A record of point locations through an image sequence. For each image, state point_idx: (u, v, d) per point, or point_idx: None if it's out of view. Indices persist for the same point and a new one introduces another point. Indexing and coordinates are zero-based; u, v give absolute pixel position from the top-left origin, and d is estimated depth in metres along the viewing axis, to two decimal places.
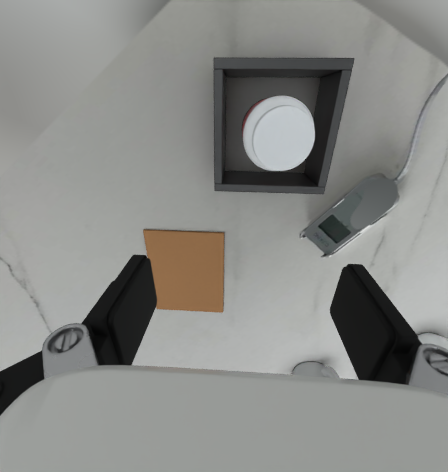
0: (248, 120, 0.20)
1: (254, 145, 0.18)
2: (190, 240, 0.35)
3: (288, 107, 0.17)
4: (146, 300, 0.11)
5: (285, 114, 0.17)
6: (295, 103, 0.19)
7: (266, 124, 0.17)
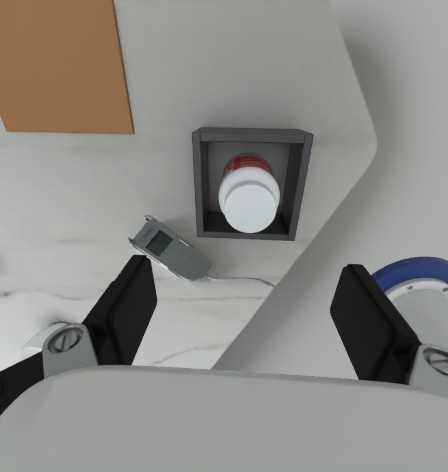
0: (263, 172, 0.22)
1: (246, 186, 0.20)
2: (112, 84, 0.26)
3: (275, 211, 0.21)
4: (146, 300, 0.11)
5: (270, 209, 0.21)
6: None
7: (263, 195, 0.20)
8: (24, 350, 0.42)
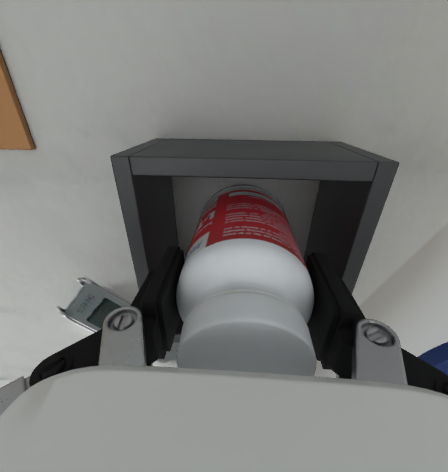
0: (279, 257, 0.09)
1: (235, 322, 0.07)
2: None
3: (311, 373, 0.08)
4: None
5: (298, 370, 0.08)
6: None
7: (283, 343, 0.07)
8: None
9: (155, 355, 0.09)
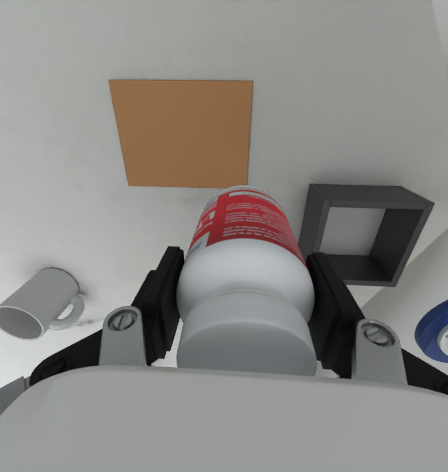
0: (279, 257, 0.09)
1: (235, 323, 0.07)
2: (237, 148, 0.29)
3: (312, 374, 0.08)
4: None
5: (299, 370, 0.08)
6: None
7: (284, 343, 0.07)
8: None
9: (155, 355, 0.09)
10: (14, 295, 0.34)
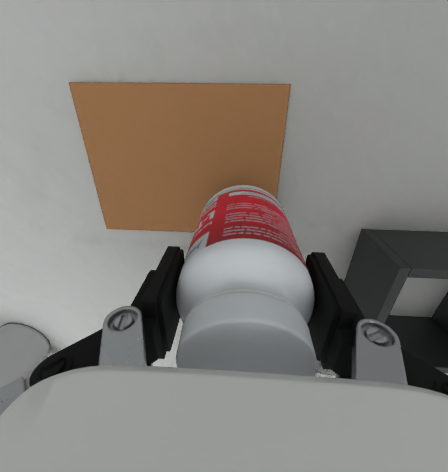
0: (279, 257, 0.09)
1: (235, 323, 0.07)
2: (261, 182, 0.20)
3: (312, 374, 0.08)
4: None
5: (299, 370, 0.08)
6: None
7: (283, 343, 0.07)
8: None
9: (155, 355, 0.09)
10: None
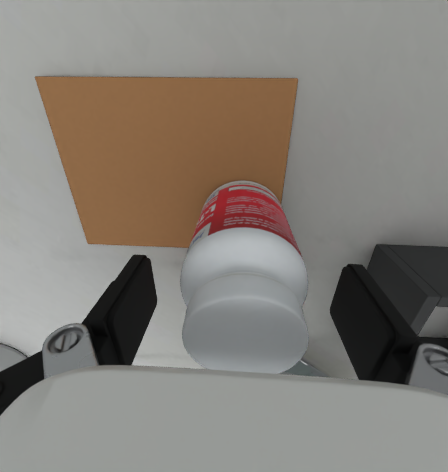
0: (275, 244, 0.10)
1: (235, 299, 0.08)
2: None
3: (304, 347, 0.09)
4: (146, 300, 0.11)
5: (292, 344, 0.09)
6: None
7: (278, 318, 0.08)
8: None
9: None
10: None
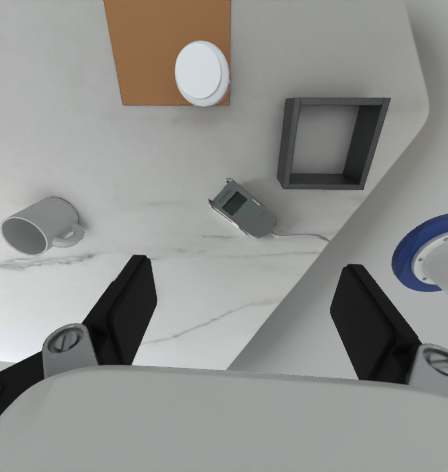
0: (211, 44, 0.25)
1: (192, 44, 0.23)
2: None
3: (219, 72, 0.24)
4: (146, 300, 0.11)
5: (215, 70, 0.23)
6: (223, 85, 0.26)
7: (208, 54, 0.23)
8: None
9: None
10: (20, 211, 0.38)
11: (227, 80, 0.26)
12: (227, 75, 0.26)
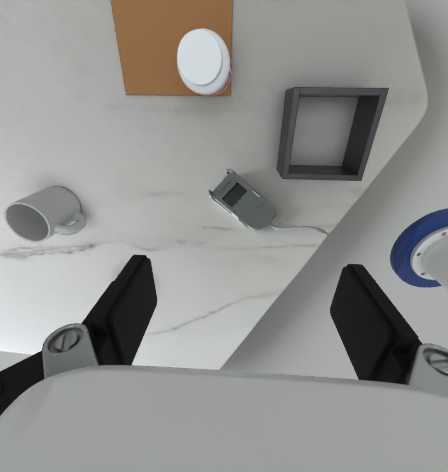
0: (213, 32, 0.25)
1: (194, 30, 0.23)
2: None
3: (220, 58, 0.24)
4: (146, 300, 0.11)
5: (216, 57, 0.24)
6: (224, 72, 0.27)
7: (209, 40, 0.24)
8: None
9: None
10: (24, 198, 0.38)
11: (228, 68, 0.27)
12: (228, 63, 0.26)
